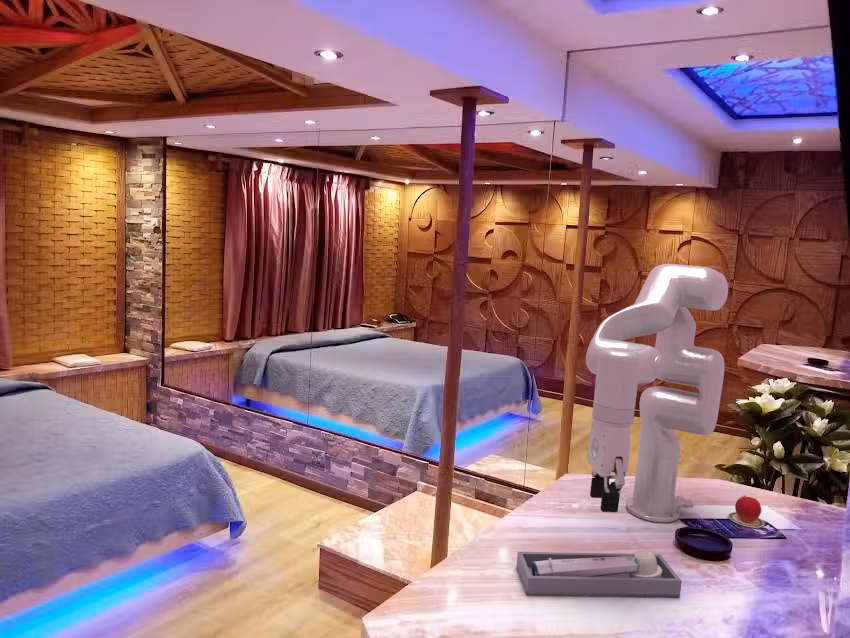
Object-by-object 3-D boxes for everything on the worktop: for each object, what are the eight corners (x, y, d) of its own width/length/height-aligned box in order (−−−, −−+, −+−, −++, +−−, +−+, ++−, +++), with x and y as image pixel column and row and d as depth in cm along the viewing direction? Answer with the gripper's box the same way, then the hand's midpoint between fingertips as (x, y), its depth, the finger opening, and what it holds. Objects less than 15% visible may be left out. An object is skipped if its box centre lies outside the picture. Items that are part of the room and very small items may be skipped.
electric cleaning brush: (530, 555, 125) (654, 541, 126) (531, 586, 126) (655, 572, 128) (536, 569, 120) (666, 555, 121) (538, 602, 121) (666, 587, 122)
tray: (658, 570, 131) (660, 554, 131) (679, 597, 122) (681, 580, 121) (516, 567, 129) (517, 551, 129) (526, 595, 120) (528, 578, 119)
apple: (720, 517, 158) (724, 492, 157) (742, 512, 162) (745, 487, 161) (749, 531, 151) (753, 505, 150) (771, 526, 155) (775, 500, 154)
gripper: (579, 400, 128) (571, 485, 131) (609, 427, 111) (599, 524, 114) (616, 401, 129) (607, 486, 132) (651, 428, 112) (639, 525, 115)
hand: (603, 503), depth 123 cm, fingers open, 5 cm apart
